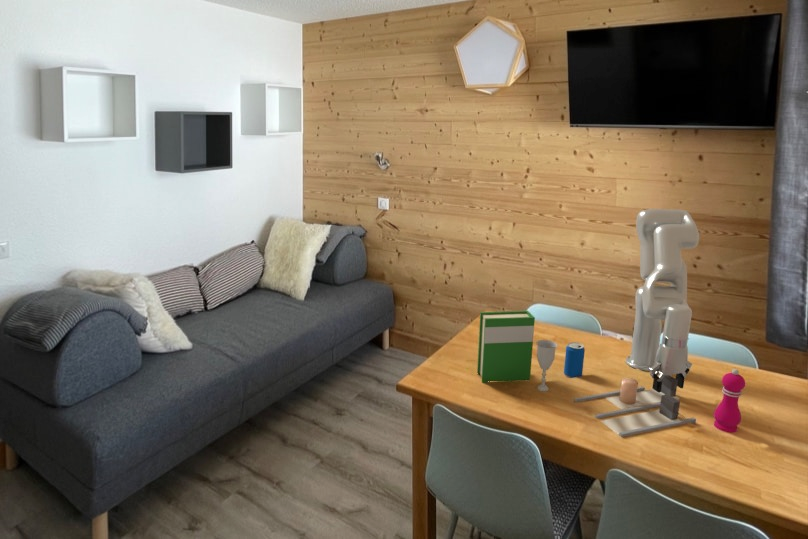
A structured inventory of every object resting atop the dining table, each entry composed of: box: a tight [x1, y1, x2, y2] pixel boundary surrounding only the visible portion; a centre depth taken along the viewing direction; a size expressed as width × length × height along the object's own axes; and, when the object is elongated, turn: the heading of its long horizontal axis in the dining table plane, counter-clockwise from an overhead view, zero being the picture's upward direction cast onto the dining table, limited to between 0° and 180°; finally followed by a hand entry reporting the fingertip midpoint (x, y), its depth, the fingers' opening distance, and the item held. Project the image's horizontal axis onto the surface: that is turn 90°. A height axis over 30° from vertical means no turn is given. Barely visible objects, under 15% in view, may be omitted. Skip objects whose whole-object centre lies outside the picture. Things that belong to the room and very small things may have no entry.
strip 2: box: [600, 394, 681, 436], centre depth 170 cm, size 24×8×7 cm, turn 109°
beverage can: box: [563, 341, 586, 379], centre depth 202 cm, size 6×6×12 cm
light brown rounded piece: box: [619, 377, 639, 404], centre depth 182 cm, size 5×5×7 cm
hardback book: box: [476, 310, 536, 383], centre depth 199 cm, size 18×7×24 cm, turn 97°
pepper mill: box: [713, 368, 746, 434], centre depth 166 cm, size 7×7×20 cm
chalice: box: [536, 339, 558, 392], centre depth 189 cm, size 7×7×18 cm
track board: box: [573, 385, 697, 438], centre depth 177 cm, size 28×24×2 cm
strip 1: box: [604, 375, 680, 410], centre depth 184 cm, size 24×8×7 cm, turn 109°
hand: (667, 388), depth 188 cm, fingers open, 9 cm apart
